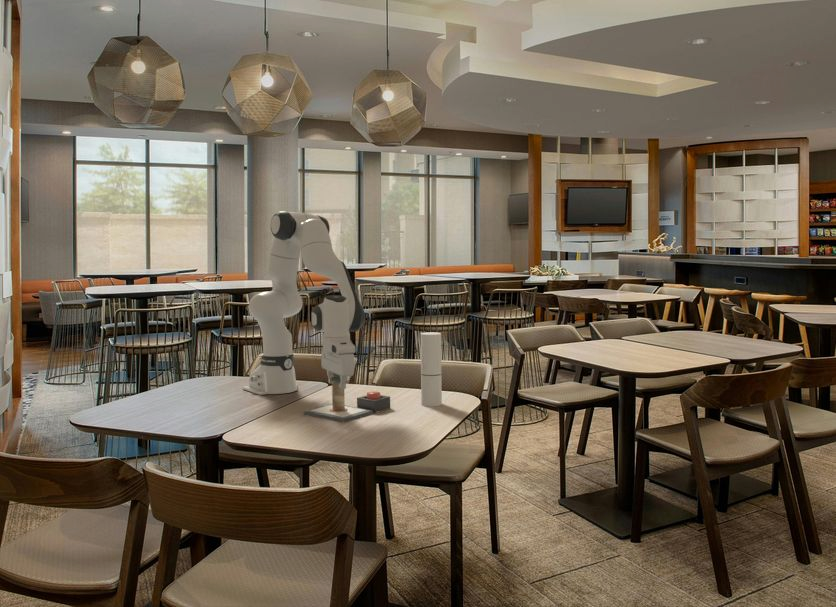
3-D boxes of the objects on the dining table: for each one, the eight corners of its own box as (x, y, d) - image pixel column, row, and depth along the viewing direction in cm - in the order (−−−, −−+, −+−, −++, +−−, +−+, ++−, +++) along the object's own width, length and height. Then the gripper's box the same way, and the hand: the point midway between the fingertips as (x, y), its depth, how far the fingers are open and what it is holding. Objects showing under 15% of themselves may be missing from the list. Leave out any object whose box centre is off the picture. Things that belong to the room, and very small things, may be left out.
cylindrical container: (442, 401, 236) (441, 332, 234) (441, 406, 229) (440, 334, 227) (422, 401, 237) (421, 332, 235) (420, 406, 230) (419, 334, 228)
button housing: (357, 409, 226) (357, 397, 226) (372, 405, 233) (372, 393, 232) (374, 412, 221) (374, 400, 221) (390, 408, 228) (390, 396, 227)
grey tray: (304, 414, 220) (304, 410, 220) (334, 406, 232) (334, 402, 231) (343, 422, 210) (343, 418, 209) (372, 413, 221) (372, 409, 221)
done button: (364, 401, 226) (364, 393, 226) (373, 399, 230) (372, 391, 230) (374, 403, 224) (374, 395, 223) (383, 401, 227) (383, 392, 227)
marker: (329, 410, 220) (329, 377, 219) (338, 407, 223) (337, 375, 222) (338, 411, 218) (338, 378, 217) (347, 409, 221) (346, 376, 220)
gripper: (316, 341, 226) (316, 381, 227) (339, 349, 208) (339, 392, 210) (333, 340, 229) (334, 379, 230) (357, 347, 211) (358, 390, 213)
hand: (337, 386), depth 220 cm, fingers open, 8 cm apart
